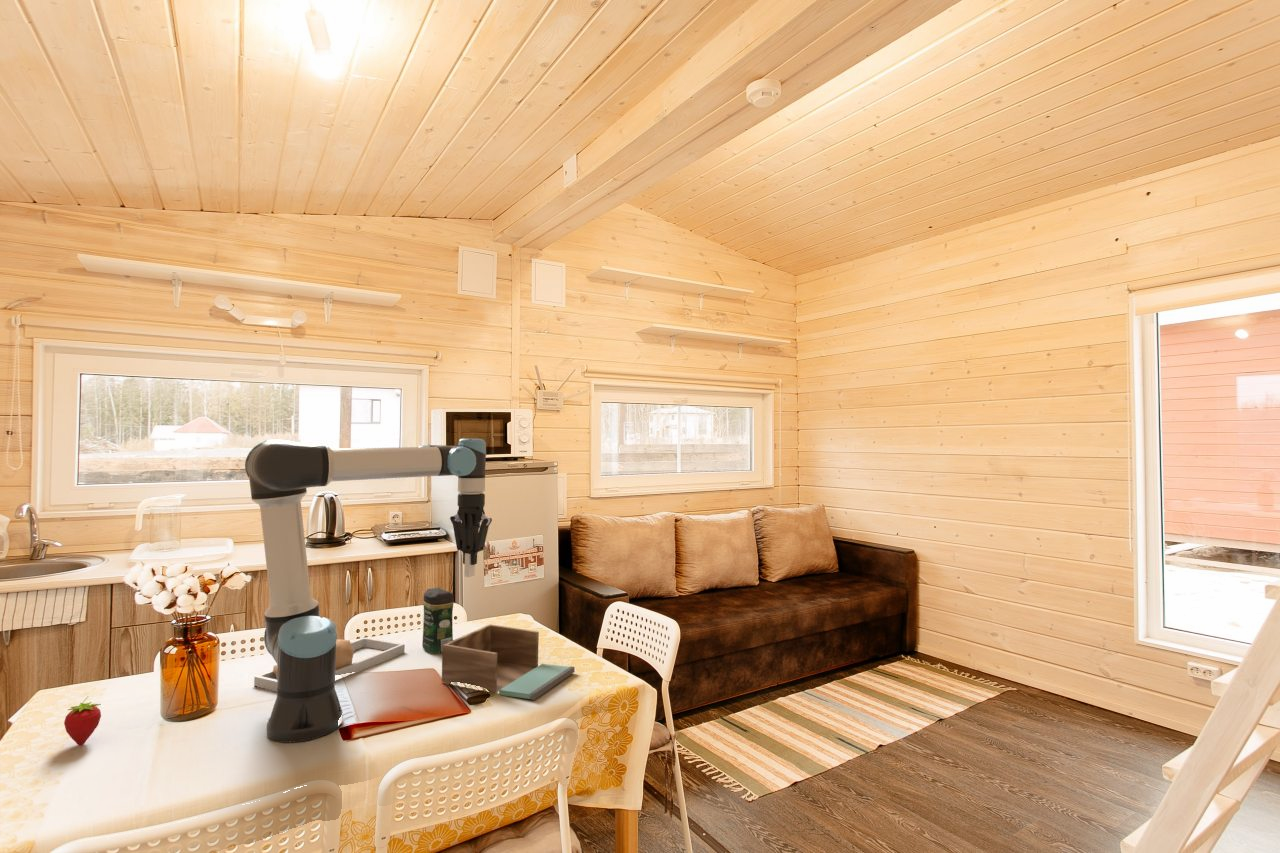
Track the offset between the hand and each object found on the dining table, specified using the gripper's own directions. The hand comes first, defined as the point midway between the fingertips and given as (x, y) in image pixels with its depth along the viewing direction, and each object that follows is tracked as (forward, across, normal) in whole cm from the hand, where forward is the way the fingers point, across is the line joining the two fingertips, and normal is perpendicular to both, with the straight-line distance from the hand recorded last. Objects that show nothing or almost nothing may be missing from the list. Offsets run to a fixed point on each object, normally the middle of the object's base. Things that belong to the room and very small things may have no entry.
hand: (469, 575), depth 184 cm
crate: (+26, -11, +3) cm, 29 cm away
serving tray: (+26, +34, +15) cm, 46 cm away
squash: (+27, +34, +21) cm, 48 cm away
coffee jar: (+27, +19, -10) cm, 34 cm away
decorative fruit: (+27, +45, +70) cm, 87 cm away
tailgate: (+25, -20, +3) cm, 32 cm away
